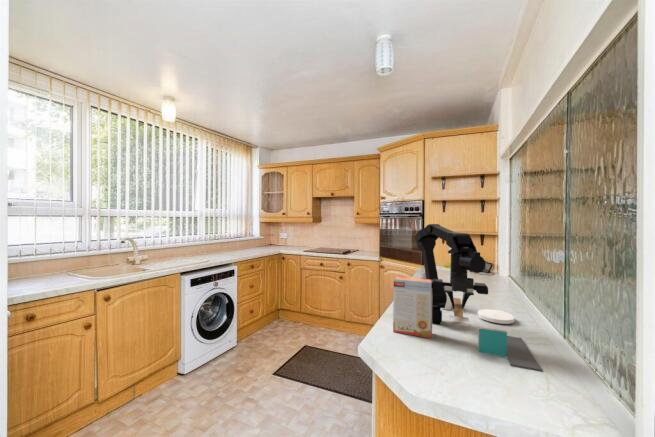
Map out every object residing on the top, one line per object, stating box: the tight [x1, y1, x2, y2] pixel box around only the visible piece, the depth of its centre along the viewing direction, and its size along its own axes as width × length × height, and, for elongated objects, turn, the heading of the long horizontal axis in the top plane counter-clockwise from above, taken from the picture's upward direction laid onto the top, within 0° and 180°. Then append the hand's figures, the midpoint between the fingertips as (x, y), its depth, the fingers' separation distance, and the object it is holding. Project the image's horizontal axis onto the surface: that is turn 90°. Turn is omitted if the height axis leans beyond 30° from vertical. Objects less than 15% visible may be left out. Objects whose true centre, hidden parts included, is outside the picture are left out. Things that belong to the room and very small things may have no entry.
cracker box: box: [392, 276, 433, 339], centre depth 111 cm, size 14×6×21 cm, turn 65°
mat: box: [506, 335, 543, 372], centre depth 97 cm, size 8×24×1 cm, turn 159°
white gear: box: [477, 308, 516, 325], centre depth 127 cm, size 14×14×2 cm
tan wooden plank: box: [449, 297, 471, 327], centre depth 105 cm, size 6×22×3 cm, turn 159°
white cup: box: [441, 292, 453, 311], centre depth 142 cm, size 8×8×10 cm
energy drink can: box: [418, 271, 426, 279], centre depth 153 cm, size 6×6×15 cm
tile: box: [477, 326, 508, 358], centre depth 95 cm, size 8×2×8 cm, turn 69°
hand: (457, 309), depth 106 cm, fingers closed on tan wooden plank, 3 cm apart
